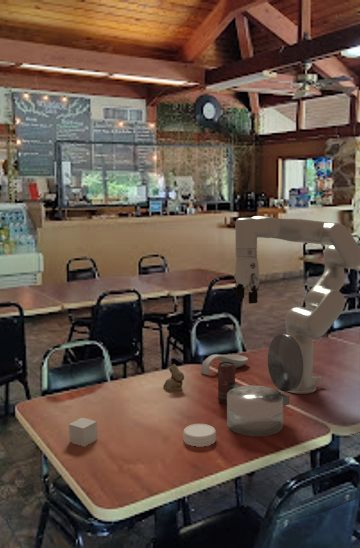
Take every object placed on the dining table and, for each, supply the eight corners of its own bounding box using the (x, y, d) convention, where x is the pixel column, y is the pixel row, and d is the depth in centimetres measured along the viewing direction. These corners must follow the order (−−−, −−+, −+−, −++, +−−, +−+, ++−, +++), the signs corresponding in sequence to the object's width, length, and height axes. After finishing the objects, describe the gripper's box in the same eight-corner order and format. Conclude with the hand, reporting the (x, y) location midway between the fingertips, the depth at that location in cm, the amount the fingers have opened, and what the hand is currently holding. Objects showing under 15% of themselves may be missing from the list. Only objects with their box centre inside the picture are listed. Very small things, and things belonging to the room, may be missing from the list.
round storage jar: (259, 401, 202) (259, 375, 201) (299, 429, 179) (300, 399, 177) (208, 410, 195) (208, 383, 193) (243, 440, 171) (243, 409, 170)
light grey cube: (84, 447, 169) (83, 428, 168) (69, 442, 172) (68, 424, 172) (97, 439, 174) (96, 421, 173) (83, 435, 177) (82, 417, 177)
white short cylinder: (205, 450, 166) (205, 439, 165) (177, 443, 171) (177, 432, 171) (221, 437, 174) (221, 427, 174) (194, 431, 179) (193, 420, 179)
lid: (265, 381, 194) (274, 380, 195) (296, 399, 176) (305, 398, 178) (270, 328, 191) (279, 328, 193) (301, 342, 174) (310, 341, 176)
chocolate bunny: (174, 393, 212) (174, 367, 211) (161, 388, 218) (161, 363, 217) (185, 389, 216) (185, 364, 215) (172, 384, 222) (172, 360, 220)
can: (234, 404, 200) (234, 366, 198) (217, 403, 201) (216, 366, 199) (236, 398, 206) (236, 361, 204) (219, 397, 207) (219, 360, 205)
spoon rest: (233, 360, 253) (233, 344, 252) (253, 366, 244) (253, 350, 243) (195, 372, 237) (194, 355, 236) (214, 378, 229) (214, 361, 228)
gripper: (268, 254, 191) (267, 304, 194) (244, 250, 207) (244, 295, 210) (248, 256, 188) (248, 306, 191) (226, 251, 204) (226, 297, 207)
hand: (246, 300), depth 200 cm, fingers open, 9 cm apart
